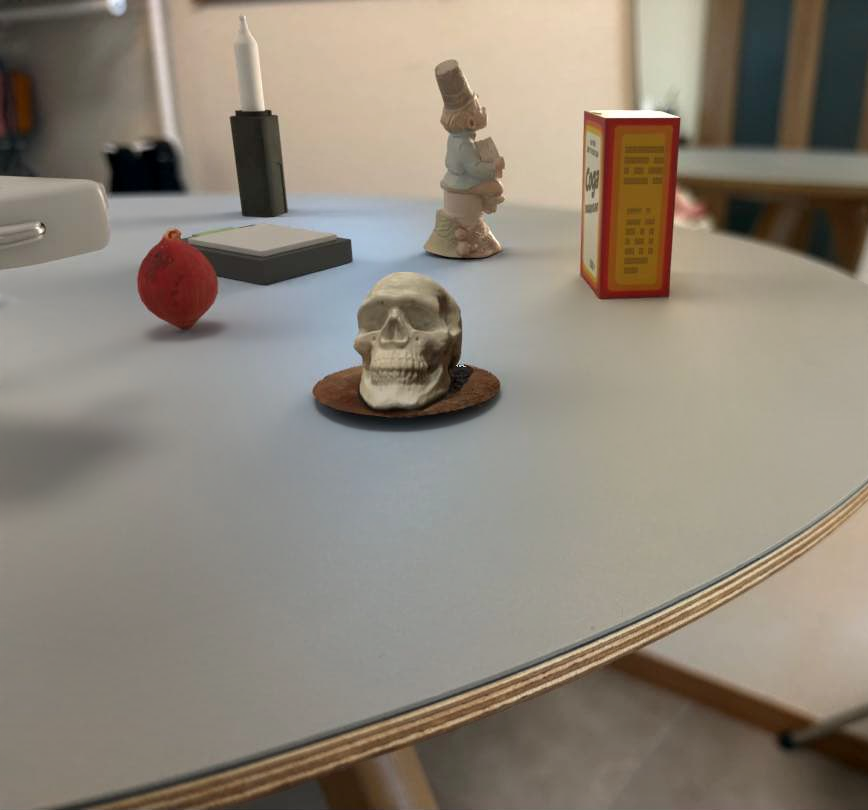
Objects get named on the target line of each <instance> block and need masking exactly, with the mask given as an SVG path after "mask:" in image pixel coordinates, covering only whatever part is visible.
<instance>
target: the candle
mask: <svg viewBox="0 0 868 810" xmlns="http://www.w3.org/2000/svg"><path fill="white" fill-rule="evenodd" d="M238 18H239V25H238V31H237V35H236V37H235V40H234V42H233V50H234V51H233V52H234V58H235V59H234V60H235V67H236V75H237V83H238V91H239V99H240V108H241V109H236V110H234V115H230V116H229V122H230V129H231V131H230V132H231V138H232V147H233V153H234V154H233V155H234V162H235V168H236V169H235V170H236V179H237V186H238V193H239V201H240V209H241V215H242V216H243V217H260V218H273V217H278V216H279V215H283V214H285V213H284V212H286V213H288V212H289V208H288V199H287V198H288V197H287V188H286V179H285V170H284V162H283V161H284V160H283V159H284V158H283V151H282V141H281V133H280V124H279V115H277V114H273V110H272V109H266V108H265V99H264V91H263V80H262V73H261V62H260V55H259V54H260V53H259V45H258V42H257V41H256V39H255V38H254V36H253V35H252V34H251V31H250V28H249V26H248V23H247V21H246V20H247V16H246V15H245V14H244V13H240V14H239V15H238Z"/></svg>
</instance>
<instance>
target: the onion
mask: <svg viewBox="0 0 868 810" xmlns="http://www.w3.org/2000/svg"><path fill="white" fill-rule="evenodd" d="M181 236H182V231H180V230H179V229H178V228H174V227H173V228H169V229H167V230H166V231H165V232H164V234H163V235H162V238H161V239H160V241H159V242H158V243H156V245H154V246H153V247H152V248H150V250H149V251H148V253H146V255H145V257H144V258H143V259H142V261H141V264H140V265H139V269H138V271H137V272H138V273H137V277H136V282H137V292H138V295H139V298H140V301H141V302H142V304H143V305H144V306H145V308H146V309H147V310H148V311H149V312H150V313H152V314H153V315H154V316H155V317H157V318H158V319H160V320H162V321H164V322H166V323H168V324H170V325H172V326H174V327H176V328H178V329H180V330H189V329H191V328H193V327H194V326H195V325H196V324H197V322H198V321H199V320H200V319H201V318H202V317H203V316H204V315H205V314H206V313H207V312H208V311H209V310H210V309H211V307H212V306H213V305H214V304H215V302H216V299H217V297H218V293H219V281H218V276H216V272H215V270H214V269H213V267H212V265H211V263H210V262H209V261H208V260H207V258H206V257H205V256H204V255H203V254H202V253H201V252H200V251H199V250H197V249H196V248H195V247H193V246H191V245H190V244H188V243H185V242H184V241H182V240H181V239H182V237H181Z"/></svg>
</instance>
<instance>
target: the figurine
mask: <svg viewBox="0 0 868 810" xmlns="http://www.w3.org/2000/svg"><path fill="white" fill-rule="evenodd" d="M434 76H435V80H436V83H437V88H438V89H439V93H440V95H441V98H442V102H443V107H442V111H441V112H442V113H441V117H440V120H439V122H440V124H441V125H442V126H443V128H444V130H445V131H446V132H447V133H448V134H449V135H448V136H447V140H446V153H445V157H444V165H445V168H446V169H447V171H446V172H445V174H444V176H443V178H442V179H441V180H440V182H439V185H440V188H441V189H442V190H443V208H442V209H437V210H436V212H435V224H434V229H433V231H432V232H431V233H430V236H429V237H428V239H427V240H426V242H425V243H424V244H423V245H422V248H423V250H425V251H426V252H428V253H431V254H434V255H438V256H443V257H448V258H457V259H458V258H459V259H461V258H466V259H470V258H471V259H478V258H488V257H489V256H491V255H494V254H497V253H499V252H501V251H502V247H501V244H500V243H499V241H498V240H497V239H496V238H495V236H494V234H493V233H492V231H491V229H490V228H489V225H488V224H487V223H486V222H485V219H484V218H483V216H484V213H485V214H487V215H492V214H495V213H496V212H497V209H498V205H500V204H503V203H504V202H505V200H506V198H505V195H503V193H504V185H503V184H502V183H501V181H500V180H501V179H502V178H503V170H506V169H507V168H506V167H507V164H506V160H505V157H504V156H500V153H499V150H498V148H497V147H498V146H497V145H496V143H495V140H494V138H493V137H492V136H488V137H485V138H484V139H480V140H477V141H475V140H476V137H477V131H479V130H483V129H485V128H487V127H488V121H489V115H488V113H487V112H486V111H487V107H486V106H481V105H480V101H479V98H480V96H479V94H476V92H475V91H473V90H472V88H471V86H470V85H469V82H468V80H467V78H466V76H465V74H464V71H463V69H462V67H461V65H460V63H459V62H458V60H456V59H454V58H453V59H447V60H444V61H442V62H440V63H438V64H437V65H436V66H435V68H434Z"/></svg>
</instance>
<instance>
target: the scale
mask: <svg viewBox="0 0 868 810" xmlns="http://www.w3.org/2000/svg"><path fill="white" fill-rule="evenodd" d="M181 240H182V241H184V242H185V243H188V244H190V245H191V246H193V247H195V248H196V249H197V250H199V251H200V252H201V253H202V254H203V255H204V256H205V257H206V258H207V260H208V261H209V262H210V263H211V265H212V267H213V269H214V270H215V272H216V276H217V277H222V278H226V279H230V280H231V279H232V280H236V281H242V282H247V283H251V284H257V285H262V286H267V285H271V284H274V283H278V282H282V281H286V280H289V279H293V278H297V277H300V276H305V275H309V274H312V273H315V272H319V271H323V270H326V269H330V268H334V267H338V266H341V265H345V264H348V263H353V260H354V258H353V246H352V239H351V238H345V237H339V236H338V234H337V233H332V232H326V231H319V230H313V229H312V230H311V229H306V228H305V229H304V228H297V227H292V226H286V225H285V226H284V225H277V224H273V223H267V222H266V223H259V224H250V225H245V226H239V227H233V226H227V227H223V228H218V229H213V230H208V231H207V230H206V231H202V232H197V233H192V234H191V236H189V237H183V238H182V237H181Z"/></svg>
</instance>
